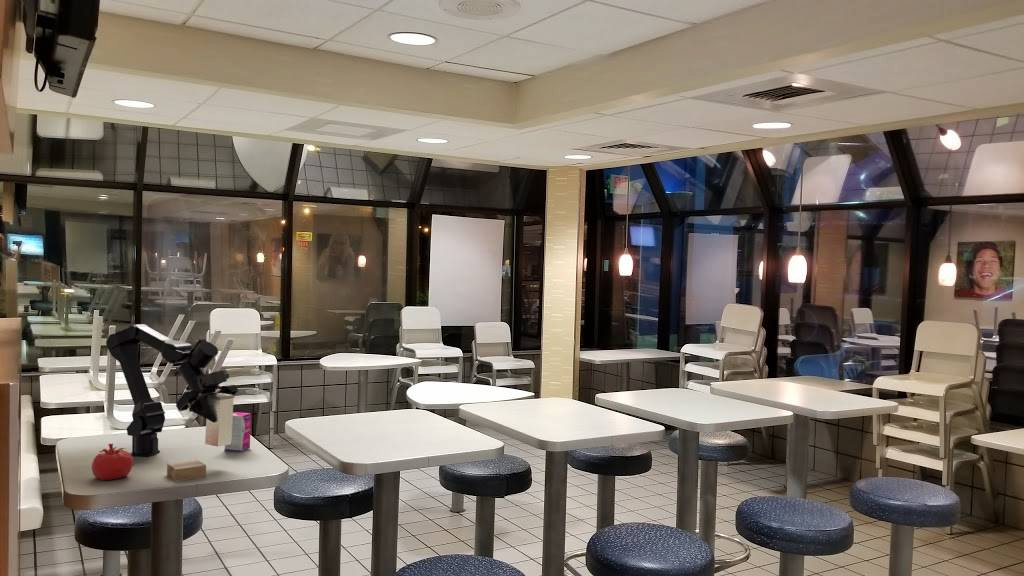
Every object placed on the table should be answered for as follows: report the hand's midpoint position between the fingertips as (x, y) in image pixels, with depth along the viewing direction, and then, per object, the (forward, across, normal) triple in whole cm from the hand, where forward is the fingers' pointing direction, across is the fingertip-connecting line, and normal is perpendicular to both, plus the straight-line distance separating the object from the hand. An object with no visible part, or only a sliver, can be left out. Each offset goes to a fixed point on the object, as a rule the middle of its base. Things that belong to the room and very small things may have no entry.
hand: (222, 420), depth 223 cm
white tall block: (+4, 0, +6) cm, 7 cm away
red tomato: (-2, -22, +22) cm, 31 cm away
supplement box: (+1, +19, +19) cm, 26 cm away
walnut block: (+9, -11, +11) cm, 18 cm away
